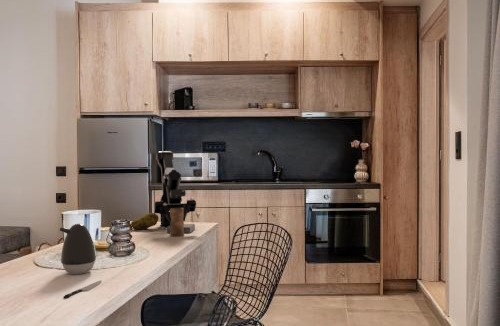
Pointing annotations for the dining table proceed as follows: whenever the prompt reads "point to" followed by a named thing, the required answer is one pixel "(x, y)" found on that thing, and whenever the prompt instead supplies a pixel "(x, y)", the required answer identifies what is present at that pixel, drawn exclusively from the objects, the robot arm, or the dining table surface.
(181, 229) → the walnut cylinder
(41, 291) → the dining table surface
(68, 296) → the chef's knife
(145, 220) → the green bumpy oblong piece
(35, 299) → the dining table surface
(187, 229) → the slate base
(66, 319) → the dining table surface
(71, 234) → the pump dispenser
